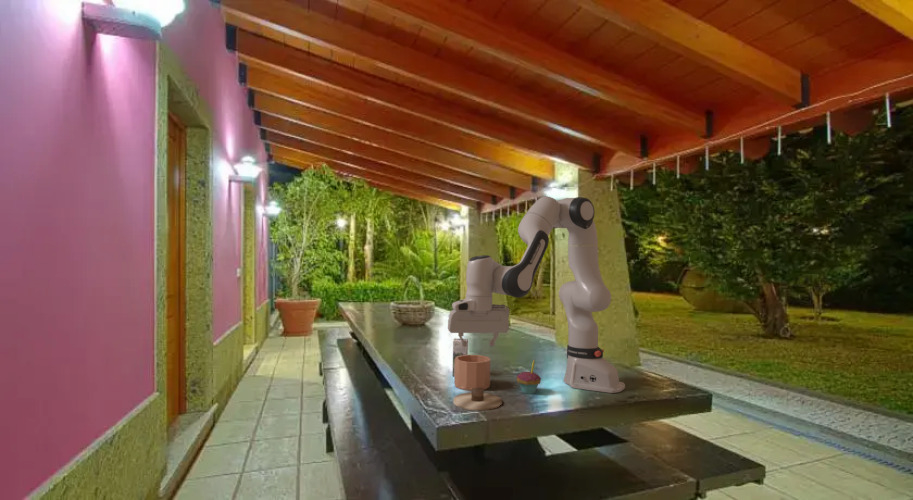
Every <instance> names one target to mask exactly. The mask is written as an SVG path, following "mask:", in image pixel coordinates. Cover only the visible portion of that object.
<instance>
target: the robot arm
mask: <svg viewBox="0 0 913 500" xmlns="http://www.w3.org/2000/svg"><path fill="white" fill-rule="evenodd" d="M594 218H595V207H594V205H593V202H592V201H591V200H590V199H589V198H587V197H584V196H583V197H582V196H581V197H580V196H577V197H566V198H562V199H558V200H557V199H555V198H553V197H552V196H541V197H540V198H538V199H537V200H536V201H535V202H534V203H533V204H532V205H531V206H530V207H529V209H528V210H527V211H526V213H525V214H524V216H523V217H522V218H521V221H520V222H519V225H518V228H517V232H518V236H519V238H520V239H521V240H522V241H523V243H525V244H526V246H527V248H525V251H524V254H523V256H522V257H521V259H520V261H519V263H517V264H515V265H511V266H509V265H508V266H507V265H503V264H501V263H499V262H497V261H496V260H494V259H493V258H492V256H491V255H486V254H483V255H482V254H481V255H476V256H472V257H470V258H469V259H468V262H467V266H466V276H465V277H466V278H465V281H466V283H465V284H466V293H465V298H464V299H460V300H457V301H453V302H452V304H451V308H452V310H451V311H450V312H449V315H448V322H447V331H448V332H449V333H451V334H458V337H459V339H461V345H462V347H467V345H466V344H467V341H464V340H463V339H464V338H463V337H465V336H464V334H487V333H488V334H492V338H491V339H490V340H489V341H488V345H489V347H495V346H496V341H497V339H498V338H499V334H500V333H501V334H502V333H503V334H507V333H508V332H509V331H510V323H509V316H510V308H509V307H508V306H507V305H506V304H495V303H494V304H493V293H495V294H499V295H503V296H504V295H505V296H506V295H507V296H509V297H514V298H523V297H526V296H527V294H528V293H530V291H531V289H532V286H533V283H534V278H535V275H536V272H537V270H538V268H539V267H540V264H541V262H542V261H543V258H544V256H545V253H546V251H547V249H548V246H549V239H550V238H549V235H550V234H551V232H552V230H553V229H567V232H568V238H567V239H568V240H567V243H568V244H567V246H568V247H567V250H568V251H567V253H568V254H567V256H568V257H567V258H568V259H567V261H568V266H569V267H568V268H569V269H570V271H571V272H572V274H573V277H574V280H570V281H567V282H565V283H563V284H561V287H560V288H559V290H558V296H559V297H558V298H559V300H560V301H561V303H562V305H563V308H564V310H565V314H566V320H567V325H568V326H567V327H568V328H567V329H568V335H567V336H568V342H567V343H568V344H567V346H566V359H567V362H566V364H567V365H566V369H565V373H564V374H565V375H564V377H563V382H564V383H565V384H566V385H569V387H570V388H572V389H579V390H585V391H586V390H587V391H594V392H602V393H609V394H613V393H614V394H615V393H620V392H622V391H624V390H625V389H626V384H625V382H623V381H620V378H619V372H618V370H617V369H616V367H614V366H613V365H612V364H611V363H610V362H608V361H607V360H606V359H605V358H604V353H605V349H604V348H600V347H599V326H598V324H597V323H596V321H595V318H594V317H593V313H596V312H597V313H598V312H602V311H605V310H606V309H608V307H609V306H610V304H611V302H612V294H611V291H610V289H608V287H607V286H606V284H605V282H604V280H603V277H602V274H601V270H600V265H599V249H598V247H599V244H598V233H597V227H596V223H595V221H594Z"/></svg>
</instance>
